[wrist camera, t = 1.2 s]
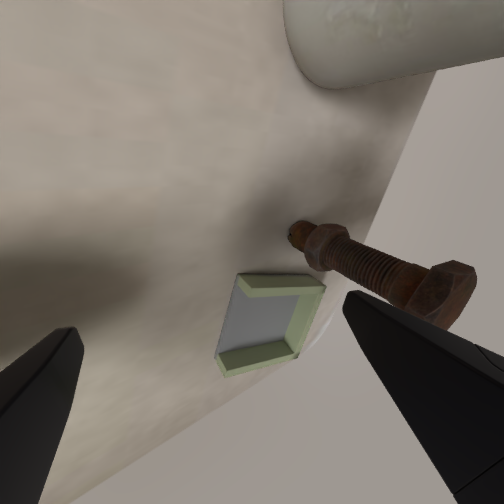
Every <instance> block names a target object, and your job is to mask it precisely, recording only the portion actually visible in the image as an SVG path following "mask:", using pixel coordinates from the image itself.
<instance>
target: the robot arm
mask: <svg viewBox="0 0 504 504" xmlns="http://www.w3.org/2000/svg"><path fill="white" fill-rule="evenodd" d="M342 309H343V314H344V316H345V318H346V320H347V322H348V324H349V326H350V328H351V330H352V332H353V333H354V336H355V338H356V339H357V342H358V344H359V345H360V347H361V349H362V351H363V352H364V354H365V356H366V357H367V359H368V361H369V362H370V364H371V365H372V367H373V369H374V370H375V372H376V373H377V375H378V377H379V378H380V380H381V381H382V383H383V385H384V386H385V388H386V389H387V391H388V393H389V394H390V395H391V397H392V399H393V401H394V402H395V404H396V405H397V407H398V408H399V410H400V411H401V413H402V415H403V417H404V418H405V420H406V421H407V423H408V425H409V426H410V428H411V429H412V431H413V432H414V434H415V436H416V437H417V439H418V440H419V442H420V444H421V445H422V447H423V448H424V450H425V452H426V453H427V455H428V456H429V458H430V460H431V461H432V463H433V464H434V466H435V468H436V469H437V470H438V472H439V474H440V475H441V477H442V479H443V480H444V482H445V484H446V485H447V487H448V488H449V490H450V492H451V493H452V494H453V497H454V498H455V500H456V501H457V503H458V504H504V357H503V356H501V355H498V354H496V353H494V352H492V351H489V350H487V349H485V348H483V347H481V346H479V345H477V344H473V343H472V342H470V341H468V340H466V339H463V338H461V337H459V336H457V335H455V334H453V333H450V332H448V331H446V330H444V329H442V328H440V327H438V326H436V325H433V324H431V323H429V322H427V321H425V320H423V319H420V318H418V317H416V316H414V315H412V314H410V313H408V312H405V311H403V310H401V309H399V308H397V307H395V306H392V305H390V304H388V303H386V302H384V301H382V300H379V299H377V298H375V297H373V296H371V295H369V294H367V293H364V292H362V291H360V290H355V291H349V292H348V293H347V296H346V298H345V301H344V304H343V308H342ZM83 356H84V345H83V343H82V340H81V338H80V335H79V333H78V331H77V329H76V328H75V327H64V328H58V329H56V330H54V331H53V332H51V333H50V334H49V335H48V336H46V337H45V338H44V339H42V340H41V341H40V342H39V343H37V344H36V345H35V346H33V347H32V348H31V349H29V350H28V351H27V352H26V353H24V354H23V355H22V356H20V357H19V358H18V359H17V360H15V361H14V362H13V363H11V364H10V365H9V366H8V367H6V368H5V369H4V370H2V371H1V372H0V504H38V502H39V500H40V497H41V494H42V491H43V488H44V485H45V482H46V480H47V477H48V474H49V471H50V468H51V465H52V462H53V460H54V457H55V454H56V451H57V448H58V445H59V442H60V440H61V437H62V434H63V431H64V428H65V425H66V422H67V420H68V416H69V413H70V410H71V407H72V403H73V399H74V394H75V390H76V386H77V381H78V377H79V373H80V369H81V364H82V360H83Z"/></svg>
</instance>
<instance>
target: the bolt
mask: <svg viewBox="0 0 504 504" xmlns="http://www.w3.org/2000/svg"><path fill="white" fill-rule="evenodd" d="M290 233H291V236H290V235H289V236H288V240H289V242H290V243H291V244H292V246H293V247H294V248H296V249H298V250H299V251H301V252H303V253H304V255H305V258H306V260H307V263H308V264H309V266H310V267H311V268H313V269H314V270H316V271H322V272H324V271H331V270H335V271H337V272H339V273H341V274H342V275H344V276H345V277H347V278H349V279H350V280H352V281H354V282H356V283H357V284H360V285H361V286H363V287H364V288H367V289H368V290H371V291H372V292H375V293H376V294H378V295H379V296H381V297H383V298H384V299H386V300H387V301H389V303H390V304H392V305H393V306H395V307H397V308H399V309H401V310H403V311H405V312H408V313H410V314H412V315H414V316H416V317H418V318H420V319H423V320H425V321H427V322H429V323H431V324H433V325H436V326H438V327H440V328H442V329H444V330H446V331H447V330H448V329H449V328H450V326H451V325H452V324H453V323H454V322H455V320H456V319H457V318H458V317H459V316H460V314H461V312H462V311H463V309H464V307H465V306H466V304H467V302H468V301H469V299H470V297H471V295H472V293H473V291H474V289H475V287H476V284H477V275H476V272H475V269H474V267H472V266H469V265H466V264H463V263H460V262H458V261H455V260H451V261H449V262H445V263H442V264H438V265H435V266H432V268H431V269H430V270H429V269H427V268H424V267H422V266H419V265H417V264H411V263H409V262H406V261H403V260H400V259H397V258H396V257H393V256H391V255H388V254H386V253H384V252H381V251H379V250H376V249H373V248H371V247H368V246H365V245H363V244H361V243H359V242H356V241H354V240H352V239H350V236H349V233H348V231H347V229H346V227H343V226H341V225H338V224H321V225H319V226H317V225H314V224H312V223H310V222H307V221H300V222H297V223H296V224H294V225H293V226H292V227H291V228H290Z"/></svg>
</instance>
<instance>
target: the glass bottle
mask: <svg viewBox="0 0 504 504" xmlns="http://www.w3.org/2000/svg"><path fill="white" fill-rule="evenodd" d="M283 17H284V25H285V31H286V35H287V39H288V42H289V46H290V48H291V51H292V54H293V56H294V58H295V61H296V63H297V65H298V66H299V68H300V70H301V71H302V72H303V73H304V75H305V76H306V77H307V78H308V79H309V80H310V81H312V82H313V83H315V84H316V85H318V86H320V87H323V88H327V89H343V88H349V87H355V86H359V85H365V84H371V83H375V82H381V81H385V80H391V79H395V78H400V77H405V76H410V75H416V74H420V73H425V72H431V71H435V70H439V69H446V68H450V67H455V66H461V65H465V64H470V63H475V62H480V61H485V60H490V59H494V58H500V57H504V0H283Z"/></svg>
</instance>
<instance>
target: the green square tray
mask: <svg viewBox="0 0 504 504" xmlns="http://www.w3.org/2000/svg"><path fill="white" fill-rule="evenodd" d="M326 287H327V286H326V285H324V284H323V283H321V282H320V281H318V280H317V279H315V278H314V277H312V276H311V275H285V274H237V277H236V281H235V285H234V288H233V292H232V295H231V299H230V303H229V306H228V310H227V313H226V317H225V321H224V324H223V328H222V331H221V335H220V339H219V342H218V346H217V349H216V353H215V357H214V358H215V360H216V362H217V364H218V366H219V368H220V370H221V372H222V374H223V376H224V378H227V377H231V376H235V375H238V374H242V373H246V372H249V371H253V370H256V369H260V368H264V367H267V366H271V365H274V364H278V363H282V362H285V361H289V360H293V359H296V358H298V356H299V353H300V351H301V348H302V346H303V343H304V341H305V338H306V336H307V334H308V331H309V329H310V326H311V324H312V321H313V319H314V316H315V314H316V311H317V309H318V307H319V304H320V302H321V299H322V297H323V294H324V292H325V289H326Z"/></svg>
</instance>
